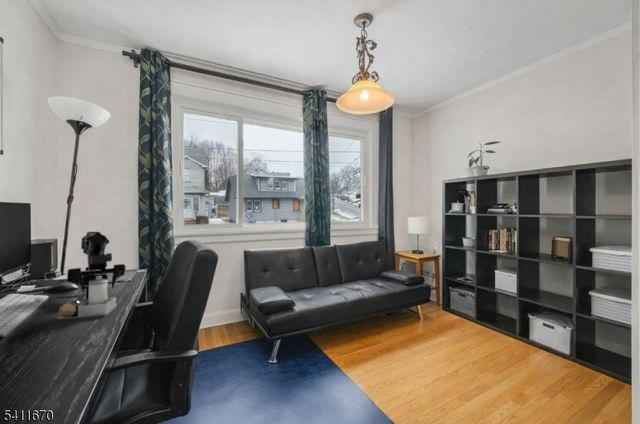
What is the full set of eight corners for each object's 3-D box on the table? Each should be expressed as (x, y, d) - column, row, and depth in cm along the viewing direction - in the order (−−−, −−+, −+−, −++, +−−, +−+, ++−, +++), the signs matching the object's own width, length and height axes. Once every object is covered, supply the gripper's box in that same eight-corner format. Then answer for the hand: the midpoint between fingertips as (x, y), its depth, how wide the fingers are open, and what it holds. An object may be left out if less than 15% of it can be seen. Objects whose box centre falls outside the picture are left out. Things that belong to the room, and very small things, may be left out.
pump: (86, 311, 110) (87, 276, 110) (105, 307, 114) (106, 274, 114) (89, 314, 106) (90, 279, 106) (108, 311, 110) (109, 276, 110)
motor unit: (71, 310, 111) (72, 296, 111) (116, 307, 116) (116, 294, 116) (56, 319, 102) (57, 304, 102) (105, 315, 107) (106, 301, 107)
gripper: (68, 248, 107) (68, 282, 99) (125, 245, 120) (129, 275, 112) (67, 265, 113) (67, 298, 105) (121, 260, 126) (125, 289, 118)
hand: (98, 289), depth 110 cm, fingers open, 9 cm apart
